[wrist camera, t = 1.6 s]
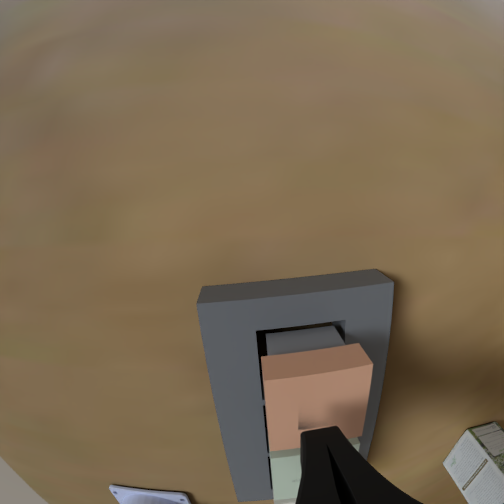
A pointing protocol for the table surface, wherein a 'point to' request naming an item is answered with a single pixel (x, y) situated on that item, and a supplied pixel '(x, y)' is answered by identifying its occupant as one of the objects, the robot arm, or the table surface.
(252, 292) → the keypad plate
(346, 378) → the terracotta key
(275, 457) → the sage key
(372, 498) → the robot arm
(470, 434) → the syrup box
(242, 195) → the table surface
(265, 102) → the table surface
